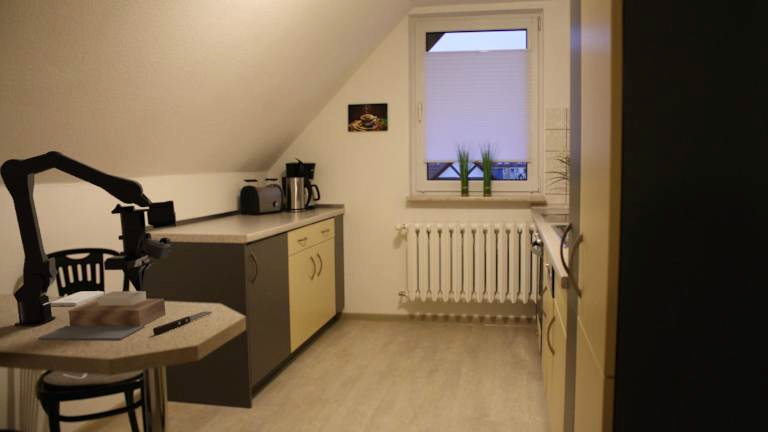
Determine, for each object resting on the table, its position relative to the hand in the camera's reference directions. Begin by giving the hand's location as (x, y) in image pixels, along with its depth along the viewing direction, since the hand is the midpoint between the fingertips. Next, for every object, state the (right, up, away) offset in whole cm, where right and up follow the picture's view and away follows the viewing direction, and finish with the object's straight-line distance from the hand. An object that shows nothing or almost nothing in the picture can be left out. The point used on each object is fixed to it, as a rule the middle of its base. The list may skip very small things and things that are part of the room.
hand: (139, 291), depth 157 cm
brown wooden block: (-1, -6, -9) cm, 11 cm away
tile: (-1, -2, -7) cm, 8 cm away
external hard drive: (-24, -5, +16) cm, 29 cm away
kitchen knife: (+16, -6, -15) cm, 23 cm away
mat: (-3, -7, -19) cm, 20 cm away
